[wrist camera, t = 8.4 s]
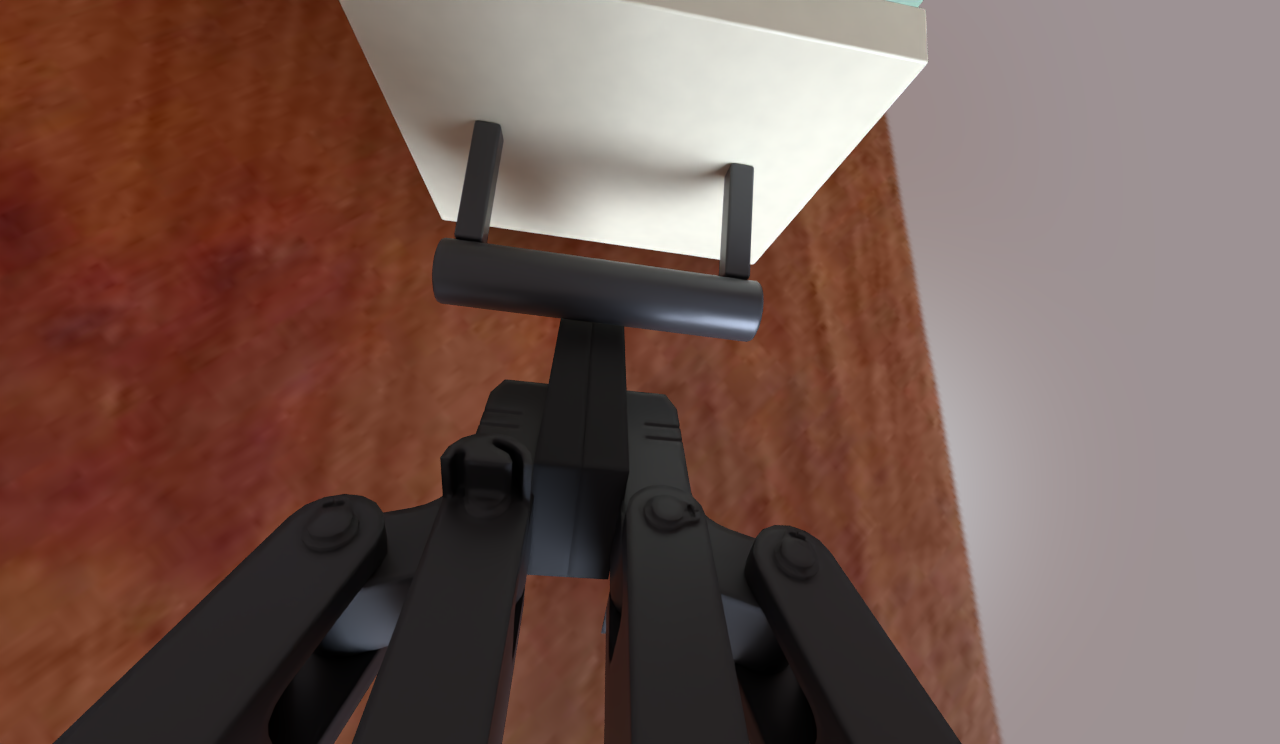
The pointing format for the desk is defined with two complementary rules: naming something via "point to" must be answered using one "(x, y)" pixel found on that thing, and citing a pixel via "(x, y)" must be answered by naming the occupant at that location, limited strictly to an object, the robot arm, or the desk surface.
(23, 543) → the desk surface
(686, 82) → the drawer
